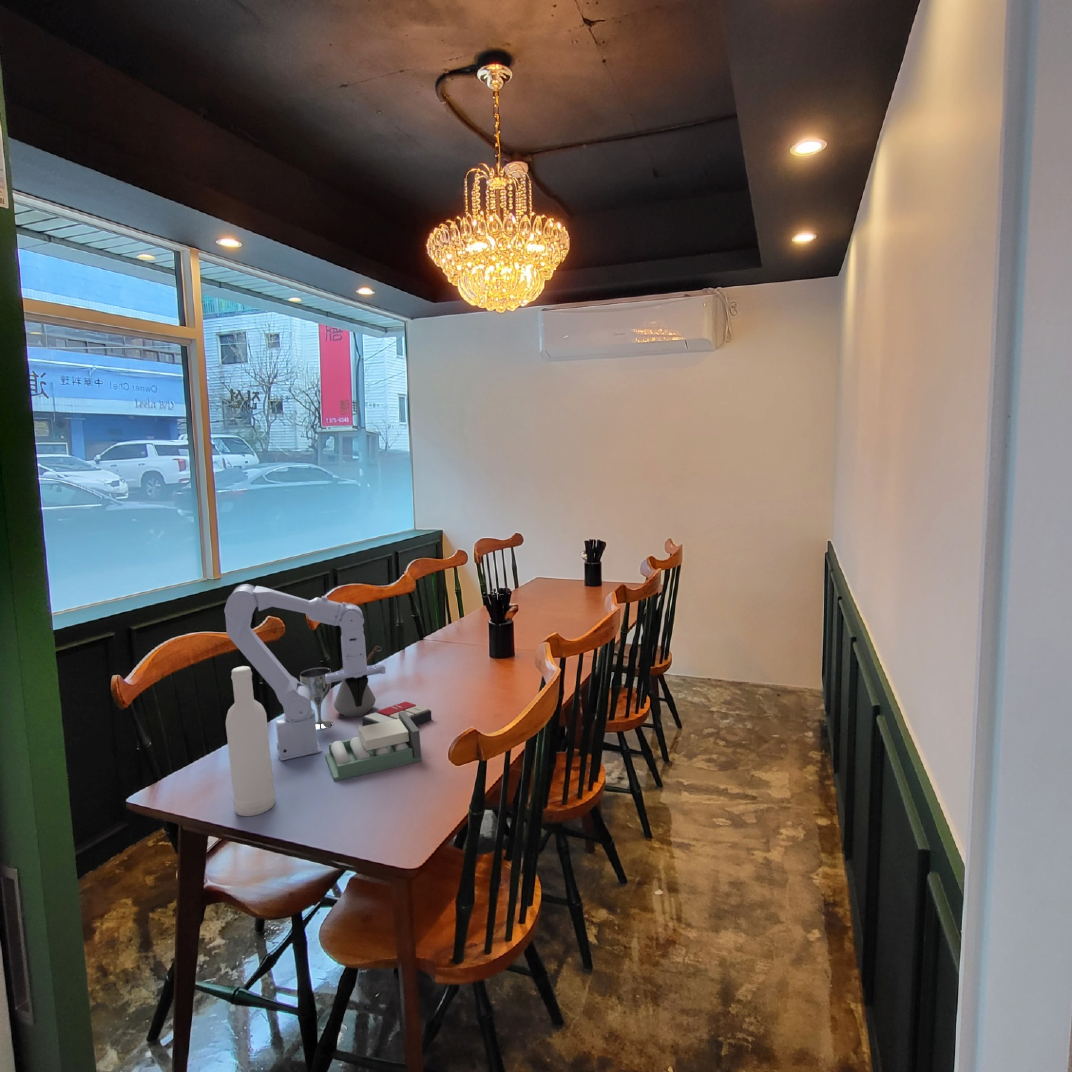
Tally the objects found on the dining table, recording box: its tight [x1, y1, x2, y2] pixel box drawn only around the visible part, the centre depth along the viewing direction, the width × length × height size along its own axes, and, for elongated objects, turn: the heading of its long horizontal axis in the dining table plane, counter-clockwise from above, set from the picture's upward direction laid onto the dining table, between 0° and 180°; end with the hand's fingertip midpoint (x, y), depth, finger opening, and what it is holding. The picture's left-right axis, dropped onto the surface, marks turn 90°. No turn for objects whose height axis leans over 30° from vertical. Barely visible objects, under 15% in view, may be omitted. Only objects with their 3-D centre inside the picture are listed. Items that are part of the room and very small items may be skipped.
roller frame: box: [324, 711, 422, 782], centre depth 161 cm, size 20×14×7 cm
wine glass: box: [299, 666, 334, 730], centre depth 182 cm, size 8×8×15 cm
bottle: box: [225, 665, 276, 817], centre depth 139 cm, size 8×8×30 cm
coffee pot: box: [333, 645, 383, 718], centre depth 195 cm, size 21×12×15 cm, turn 164°
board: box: [358, 719, 409, 751], centre depth 162 cm, size 10×9×2 cm
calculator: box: [361, 701, 432, 728], centre depth 181 cm, size 11×4×15 cm
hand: (358, 705), depth 171 cm, fingers closed
